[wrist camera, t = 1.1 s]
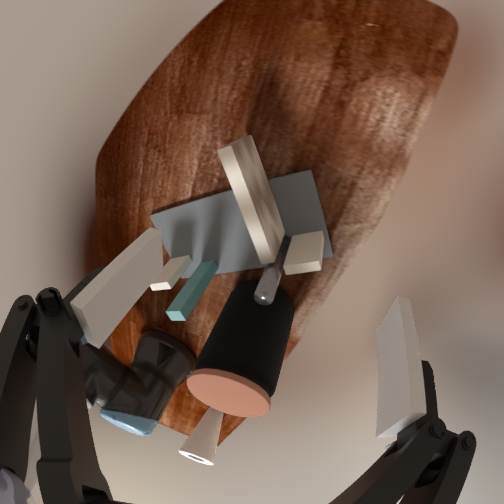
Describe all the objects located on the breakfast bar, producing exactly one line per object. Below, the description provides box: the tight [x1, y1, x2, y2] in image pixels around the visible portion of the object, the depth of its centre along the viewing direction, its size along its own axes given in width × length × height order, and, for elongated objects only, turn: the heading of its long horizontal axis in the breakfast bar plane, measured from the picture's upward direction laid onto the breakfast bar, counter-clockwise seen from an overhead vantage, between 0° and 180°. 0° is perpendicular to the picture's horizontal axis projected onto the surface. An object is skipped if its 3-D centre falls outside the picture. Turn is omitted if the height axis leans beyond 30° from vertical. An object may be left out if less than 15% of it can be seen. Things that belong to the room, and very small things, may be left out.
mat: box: [150, 169, 333, 279], centre depth 38 cm, size 25×12×1 cm, turn 110°
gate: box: [217, 135, 285, 264], centre depth 30 cm, size 13×2×7 cm, turn 20°
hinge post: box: [254, 235, 291, 305], centre depth 32 cm, size 2×2×12 cm
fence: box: [150, 231, 324, 291], centre depth 36 cm, size 24×1×7 cm, turn 110°
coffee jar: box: [187, 280, 294, 417], centre depth 37 cm, size 11×11×18 cm
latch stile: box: [166, 260, 218, 321], centre depth 38 cm, size 2×2×12 cm
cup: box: [179, 407, 223, 465], centre depth 68 cm, size 11×11×18 cm
